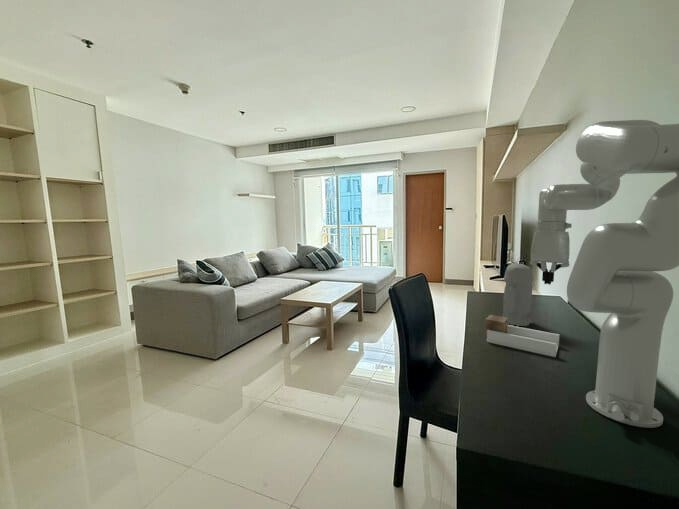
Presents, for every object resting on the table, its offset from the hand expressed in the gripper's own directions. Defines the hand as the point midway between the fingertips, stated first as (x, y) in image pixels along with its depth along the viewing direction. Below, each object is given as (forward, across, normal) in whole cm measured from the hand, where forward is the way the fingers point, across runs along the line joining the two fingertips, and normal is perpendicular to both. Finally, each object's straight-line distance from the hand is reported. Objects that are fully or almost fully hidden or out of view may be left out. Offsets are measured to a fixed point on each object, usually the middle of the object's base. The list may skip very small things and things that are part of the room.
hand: (547, 283), depth 101 cm
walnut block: (+21, +15, 0) cm, 25 cm away
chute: (+22, +6, 0) cm, 23 cm away
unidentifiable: (+22, +12, -26) cm, 36 cm away
